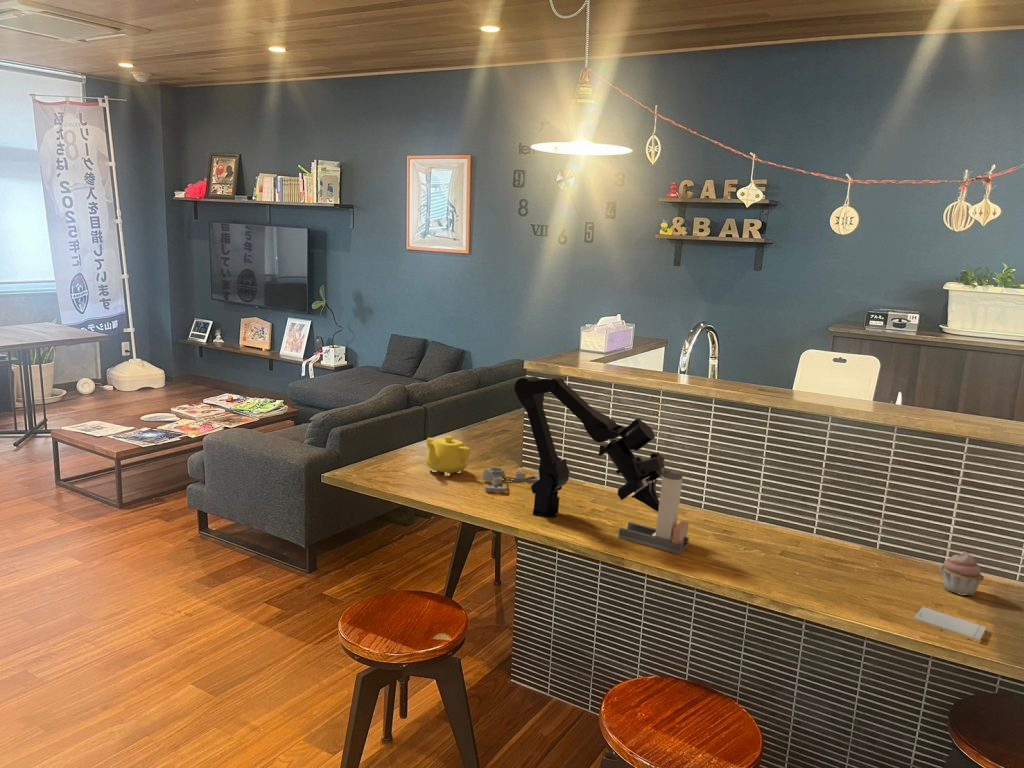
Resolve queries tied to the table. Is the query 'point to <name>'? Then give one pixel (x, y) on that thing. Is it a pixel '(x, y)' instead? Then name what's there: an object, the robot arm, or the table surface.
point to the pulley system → (498, 475)
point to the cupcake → (961, 574)
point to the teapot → (447, 455)
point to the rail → (645, 537)
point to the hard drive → (950, 623)
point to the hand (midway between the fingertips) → (659, 510)
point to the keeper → (668, 504)
